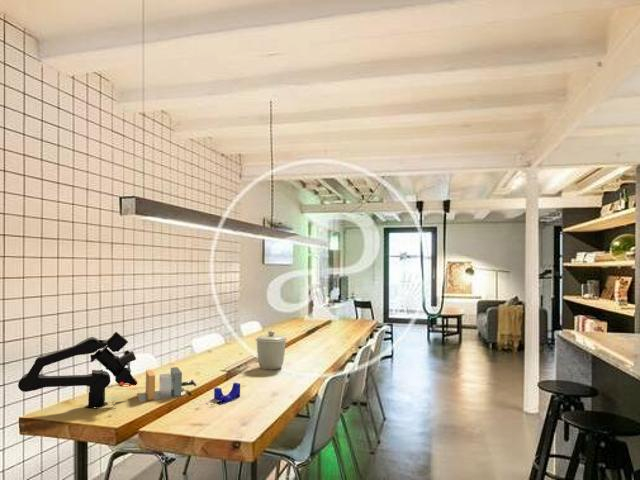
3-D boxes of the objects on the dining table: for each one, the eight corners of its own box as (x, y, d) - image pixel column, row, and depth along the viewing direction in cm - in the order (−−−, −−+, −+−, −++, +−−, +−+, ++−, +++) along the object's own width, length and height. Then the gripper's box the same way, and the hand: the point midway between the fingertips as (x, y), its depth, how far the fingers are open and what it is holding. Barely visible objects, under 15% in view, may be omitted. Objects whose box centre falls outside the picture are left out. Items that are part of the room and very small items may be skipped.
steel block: (161, 396, 192) (161, 378, 192) (159, 392, 198) (159, 374, 198) (170, 395, 194) (171, 377, 194) (168, 391, 200) (169, 373, 200)
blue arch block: (220, 404, 187) (221, 390, 188) (214, 402, 190) (214, 388, 190) (242, 397, 197) (242, 384, 197) (235, 396, 199) (235, 382, 200)
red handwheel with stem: (137, 386, 215) (137, 380, 224) (138, 359, 216) (138, 355, 224) (118, 388, 212) (119, 382, 221) (119, 361, 212) (119, 356, 221)
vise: (139, 405, 185) (140, 377, 186) (136, 396, 197) (137, 370, 197) (197, 397, 196) (197, 371, 196) (191, 390, 207) (192, 365, 208)
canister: (249, 370, 248) (250, 332, 249) (262, 363, 265) (263, 327, 266) (279, 372, 243) (279, 333, 244) (291, 365, 260) (291, 329, 261)
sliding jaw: (148, 399, 187) (148, 376, 188) (145, 392, 198) (146, 370, 198) (154, 399, 188) (155, 375, 189) (151, 391, 199) (152, 369, 199)
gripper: (125, 349, 181) (153, 374, 185) (123, 342, 198) (148, 365, 202) (103, 370, 177) (132, 395, 181) (102, 361, 194) (129, 384, 198)
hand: (136, 384), depth 191 cm, fingers closed
